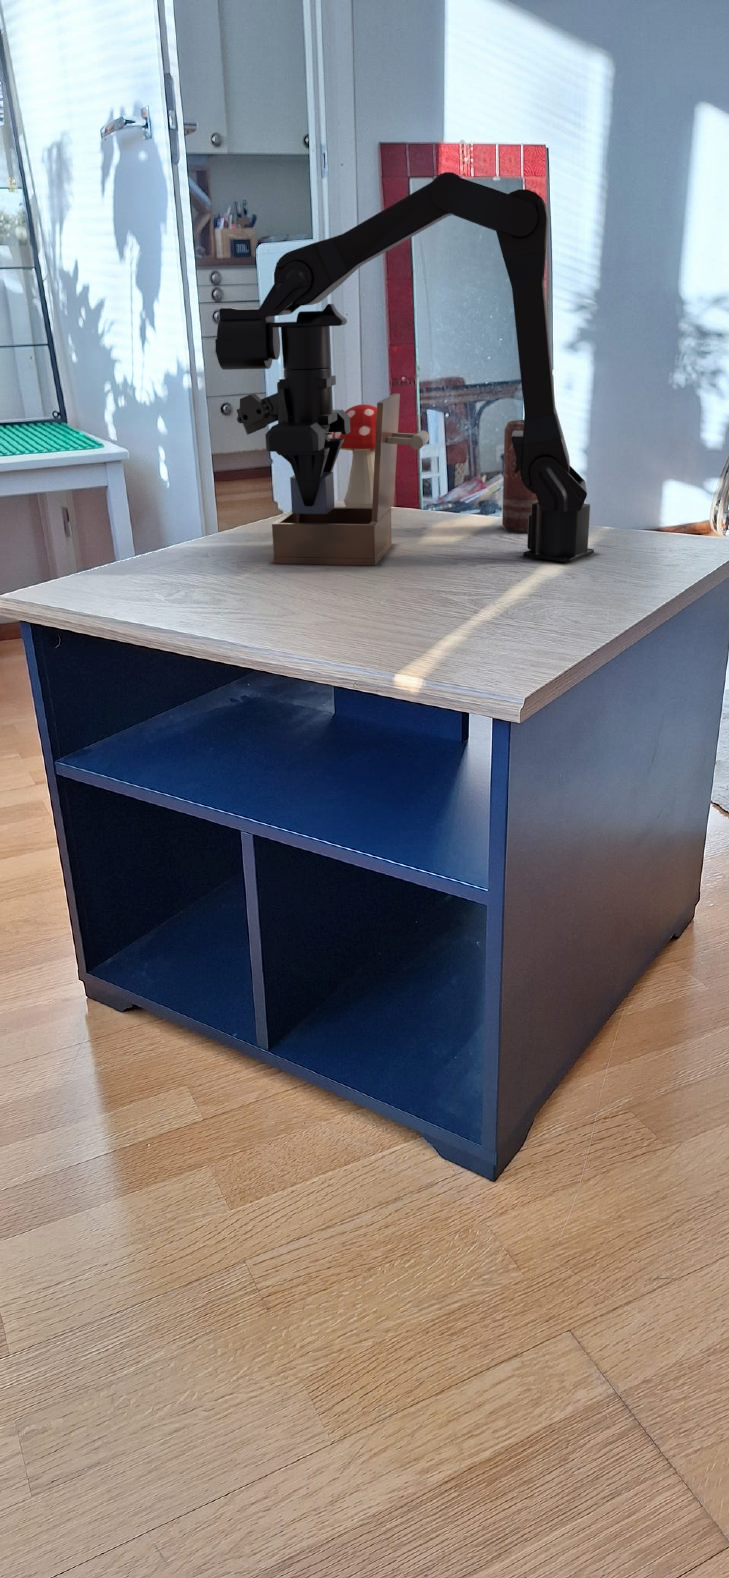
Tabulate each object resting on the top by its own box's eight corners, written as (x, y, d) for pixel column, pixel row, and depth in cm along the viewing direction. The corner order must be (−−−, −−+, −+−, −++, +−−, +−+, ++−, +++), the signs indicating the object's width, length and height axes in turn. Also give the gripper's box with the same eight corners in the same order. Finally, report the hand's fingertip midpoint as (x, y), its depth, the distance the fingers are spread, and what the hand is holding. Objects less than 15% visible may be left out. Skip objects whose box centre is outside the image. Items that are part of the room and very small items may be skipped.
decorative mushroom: (407, 506, 169) (406, 402, 163) (384, 516, 162) (382, 408, 156) (348, 502, 173) (345, 401, 167) (323, 512, 166) (319, 407, 160)
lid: (377, 402, 126) (421, 405, 125) (394, 393, 136) (435, 396, 135) (371, 521, 132) (414, 525, 131) (388, 504, 142) (428, 507, 141)
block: (334, 507, 140) (333, 471, 138) (326, 514, 136) (325, 477, 134) (300, 507, 141) (298, 471, 139) (291, 514, 137) (289, 477, 135)
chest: (274, 563, 136) (271, 524, 134) (297, 543, 146) (295, 506, 144) (375, 565, 134) (374, 525, 132) (391, 545, 144) (391, 507, 142)
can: (552, 532, 148) (557, 423, 143) (504, 534, 149) (507, 424, 143) (546, 524, 154) (550, 417, 148) (500, 525, 154) (502, 419, 148)
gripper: (263, 364, 141) (270, 489, 148) (217, 375, 125) (228, 516, 131) (349, 362, 139) (353, 490, 146) (314, 374, 123) (320, 517, 129)
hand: (313, 502), depth 138 cm, fingers closed on block, 4 cm apart
